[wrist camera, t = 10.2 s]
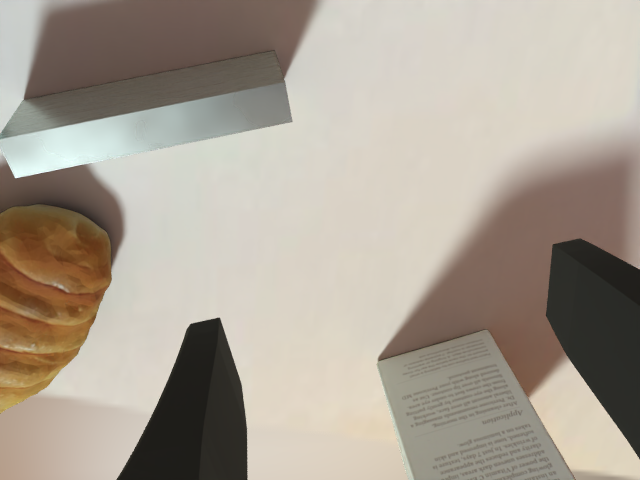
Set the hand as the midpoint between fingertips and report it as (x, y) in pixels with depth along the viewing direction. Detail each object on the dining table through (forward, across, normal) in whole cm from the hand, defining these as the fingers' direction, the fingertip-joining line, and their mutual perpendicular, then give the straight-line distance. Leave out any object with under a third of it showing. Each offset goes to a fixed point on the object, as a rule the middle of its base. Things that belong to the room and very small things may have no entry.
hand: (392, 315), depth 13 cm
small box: (+10, -4, +16) cm, 19 cm away
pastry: (+10, +13, +4) cm, 17 cm away
